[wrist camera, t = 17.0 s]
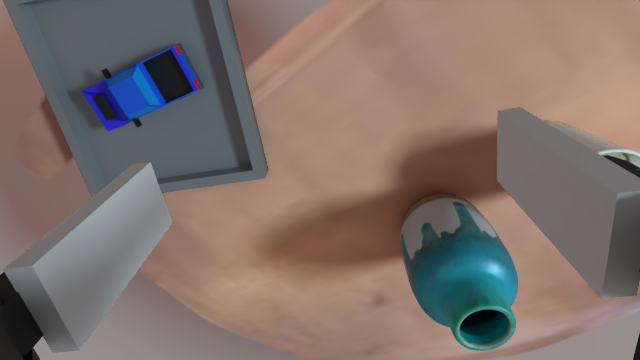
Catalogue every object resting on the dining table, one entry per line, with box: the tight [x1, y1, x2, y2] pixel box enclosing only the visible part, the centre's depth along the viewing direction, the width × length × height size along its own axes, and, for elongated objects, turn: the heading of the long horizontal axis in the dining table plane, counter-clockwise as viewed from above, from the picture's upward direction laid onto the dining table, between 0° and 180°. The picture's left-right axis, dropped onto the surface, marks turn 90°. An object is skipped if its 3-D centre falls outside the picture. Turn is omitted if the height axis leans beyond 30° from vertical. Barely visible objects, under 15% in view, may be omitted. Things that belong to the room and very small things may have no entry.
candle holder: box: [544, 121, 640, 168], centre depth 42 cm, size 10×10×12 cm
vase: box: [400, 194, 518, 351], centre depth 43 cm, size 11×11×19 cm
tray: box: [3, 0, 268, 197], centre depth 45 cm, size 24×22×2 cm
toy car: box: [81, 43, 205, 132], centre depth 43 cm, size 7×12×5 cm, turn 113°
